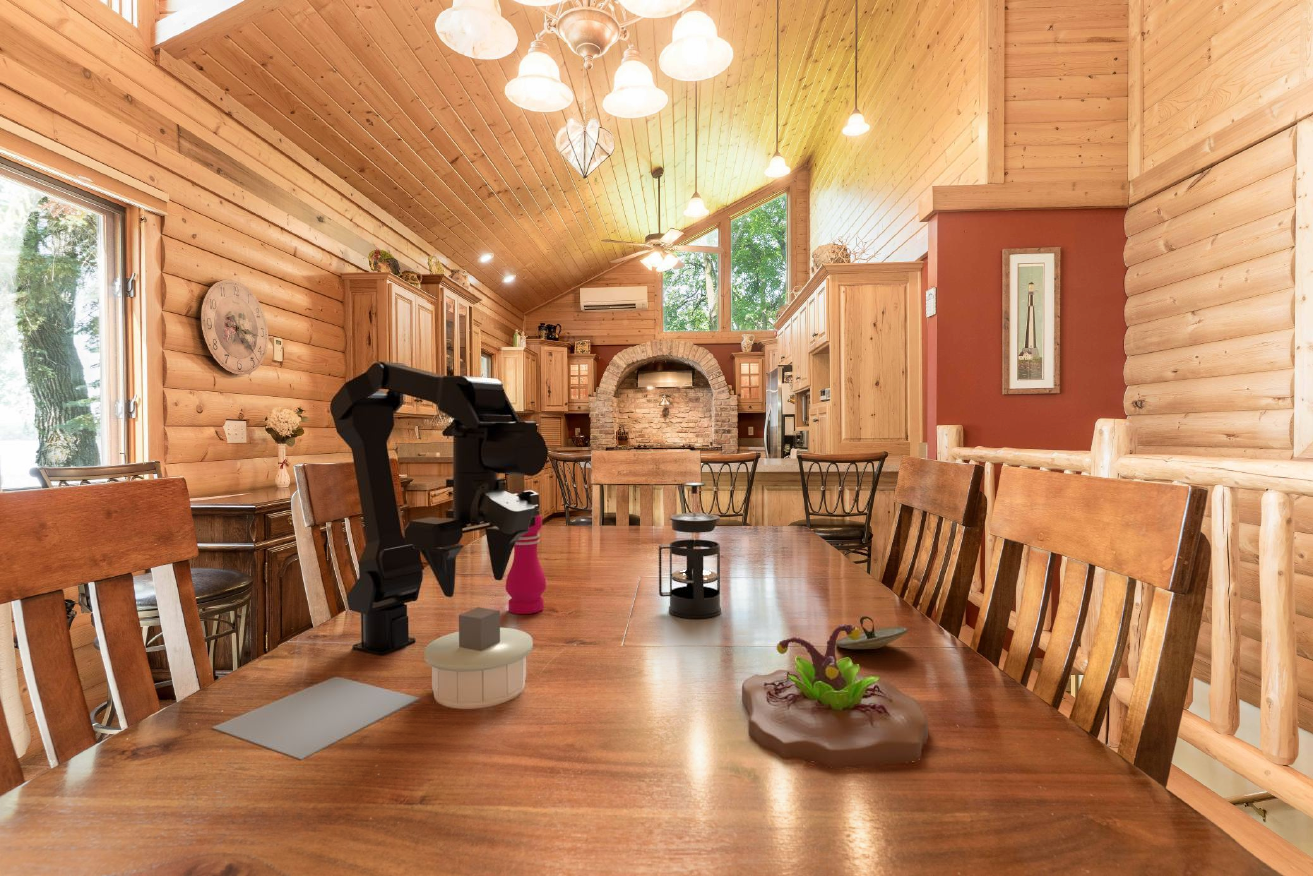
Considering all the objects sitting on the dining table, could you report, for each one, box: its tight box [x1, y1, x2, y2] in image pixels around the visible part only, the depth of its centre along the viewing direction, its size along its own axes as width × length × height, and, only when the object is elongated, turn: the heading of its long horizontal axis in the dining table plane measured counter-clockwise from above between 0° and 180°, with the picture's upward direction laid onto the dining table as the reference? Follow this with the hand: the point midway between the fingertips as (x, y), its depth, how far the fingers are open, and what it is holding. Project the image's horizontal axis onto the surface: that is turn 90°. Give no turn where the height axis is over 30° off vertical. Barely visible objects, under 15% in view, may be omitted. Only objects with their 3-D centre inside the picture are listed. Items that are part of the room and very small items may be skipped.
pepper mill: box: [505, 513, 547, 615], centre depth 111 cm, size 7×7×20 cm
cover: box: [423, 607, 534, 672], centre depth 77 cm, size 13×13×5 cm
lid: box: [835, 615, 909, 650], centre depth 90 cm, size 11×10×5 cm
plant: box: [741, 623, 929, 769], centre depth 69 cm, size 20×20×11 cm
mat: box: [211, 676, 421, 761], centre depth 71 cm, size 15×15×1 cm
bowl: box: [431, 656, 527, 710], centre depth 77 cm, size 11×11×5 cm
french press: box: [658, 481, 722, 620], centre depth 110 cm, size 12×9×23 cm
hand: (474, 587), depth 82 cm, fingers open, 9 cm apart
